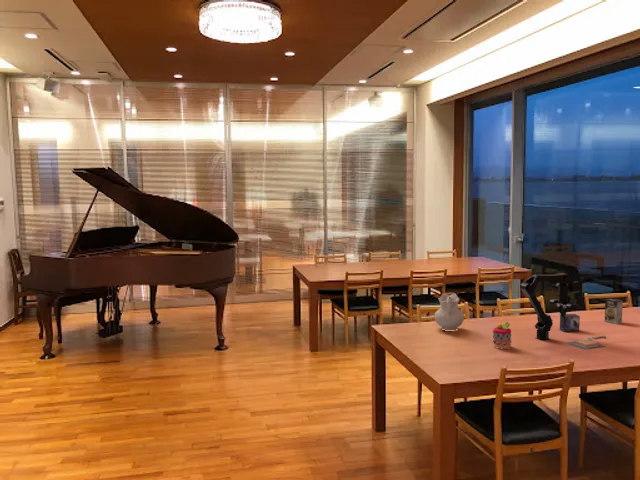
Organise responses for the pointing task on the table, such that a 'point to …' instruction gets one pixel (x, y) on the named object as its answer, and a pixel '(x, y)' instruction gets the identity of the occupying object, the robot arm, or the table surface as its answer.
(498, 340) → the cake
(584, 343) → the tile
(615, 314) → the coffee box
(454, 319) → the ceramic pitcher
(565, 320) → the small box
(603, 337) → the turner
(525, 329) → the table surface
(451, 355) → the table surface
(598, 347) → the mat
